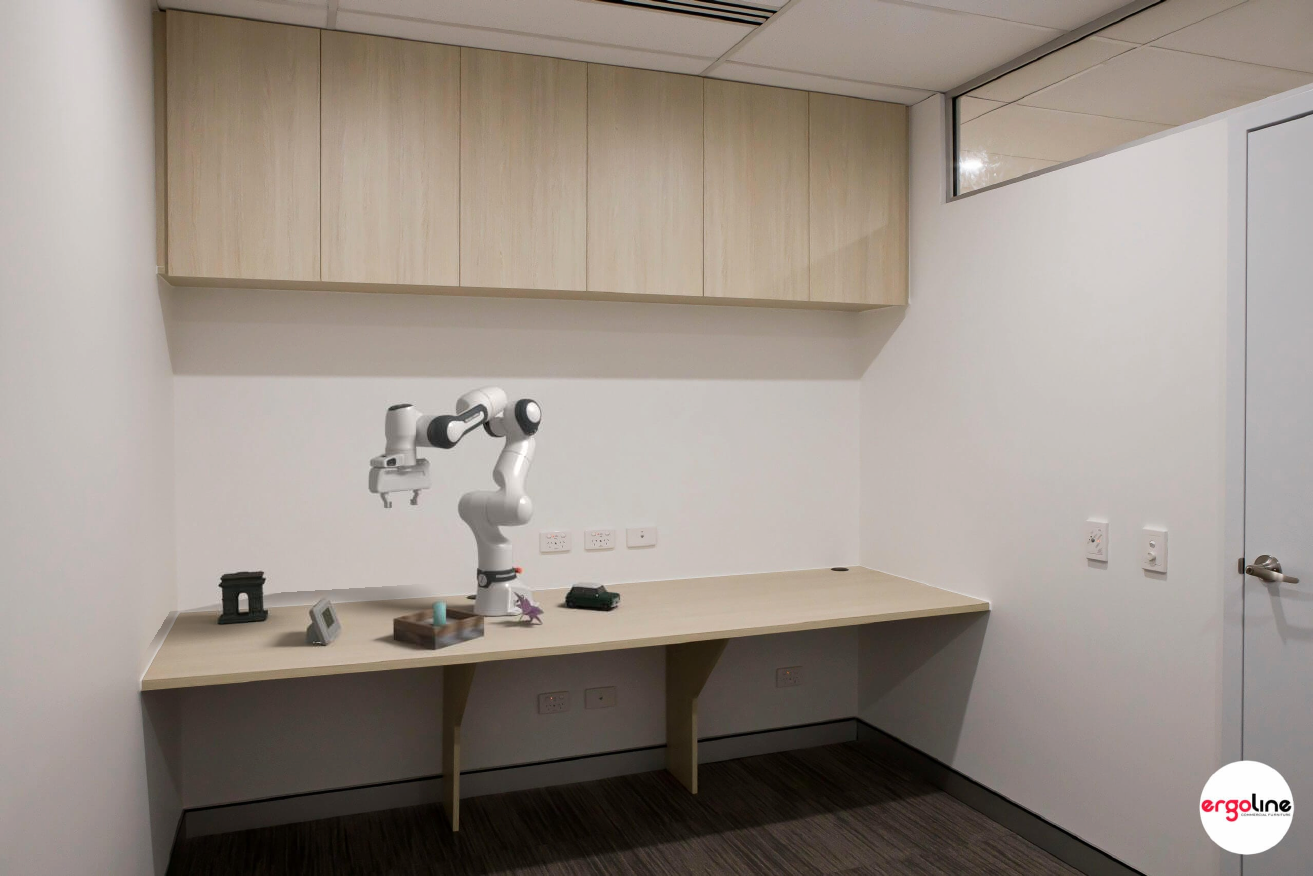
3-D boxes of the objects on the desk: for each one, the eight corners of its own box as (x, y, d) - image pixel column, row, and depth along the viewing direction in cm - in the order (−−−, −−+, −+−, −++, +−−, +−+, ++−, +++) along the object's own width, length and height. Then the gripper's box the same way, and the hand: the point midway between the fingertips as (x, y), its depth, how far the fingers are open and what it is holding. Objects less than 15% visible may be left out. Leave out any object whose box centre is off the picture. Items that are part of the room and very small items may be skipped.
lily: (543, 633, 259) (554, 602, 263) (506, 620, 256) (517, 589, 260) (534, 636, 270) (544, 606, 273) (499, 623, 267) (509, 593, 271)
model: (268, 614, 276) (267, 568, 276) (267, 621, 268) (266, 573, 267) (220, 618, 271) (219, 571, 271) (217, 625, 263) (216, 576, 262)
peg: (440, 635, 252) (440, 601, 252) (448, 637, 250) (448, 602, 250) (430, 638, 249) (430, 603, 249) (438, 640, 247) (438, 605, 247)
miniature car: (613, 612, 281) (613, 588, 281) (562, 608, 287) (562, 584, 287) (622, 606, 290) (622, 582, 290) (573, 602, 296) (573, 579, 295)
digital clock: (327, 647, 240) (326, 609, 239) (295, 646, 240) (295, 608, 240) (351, 631, 256) (351, 596, 256) (321, 631, 257) (321, 595, 256)
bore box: (442, 626, 262) (442, 606, 262) (484, 635, 252) (484, 615, 252) (393, 639, 248) (393, 618, 247) (435, 649, 237) (435, 628, 237)
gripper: (422, 457, 265) (422, 502, 265) (365, 460, 248) (365, 508, 248) (436, 458, 261) (436, 504, 261) (378, 461, 244) (379, 510, 245)
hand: (401, 506), depth 255 cm, fingers open, 8 cm apart
